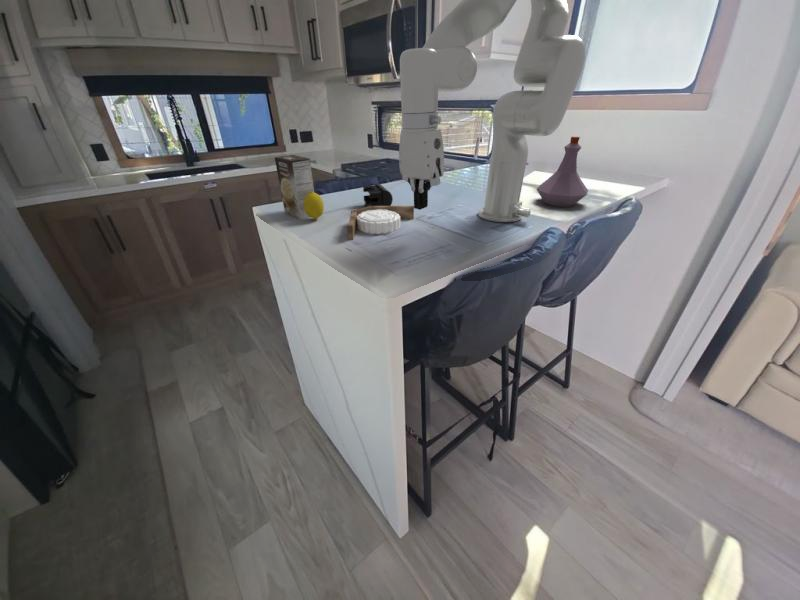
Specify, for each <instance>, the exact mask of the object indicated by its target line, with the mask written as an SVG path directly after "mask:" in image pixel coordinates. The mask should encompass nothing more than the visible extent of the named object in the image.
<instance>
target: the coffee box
mask: <svg viewBox="0 0 800 600" xmlns="http://www.w3.org/2000/svg"><path fill="white" fill-rule="evenodd" d="M274 162H275V166H276V172H277V179H278V183H279V188H280V194H281V198H282V203H283V204H282V205H283V210H284V213H285V214H287V215H290V216H292V217H294V218H297V219H299V220H301V219H305V218H309V217H310V216H308V215H307V214H306V212H305V209H304V198H305V196H306V195H307V194H309V193H310V192H314V193H315V187H314V180H313V179H314V178H313V172H312V166H311V159H310V157H309V158H308V157H305V156H300V155H296V154H289V155H282V156H281V155H280V156H276V157H274ZM310 218H311V217H310Z"/></svg>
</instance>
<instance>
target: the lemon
mask: <svg viewBox="0 0 800 600" xmlns="http://www.w3.org/2000/svg"><path fill="white" fill-rule="evenodd" d="M304 209H305V212H306V214H307V215H308V216H310V218H311V219H314V220H318V219H319V218H320V217H321V216H322V215H323V213H324V212H325V205H324V200H323V199H322V197H321V196H320V195H319V194H318V193H316V192H315V191H314V192H310V193H309V194H307V195H306V196H305V198H304Z"/></svg>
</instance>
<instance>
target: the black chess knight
mask: <svg viewBox="0 0 800 600" xmlns="http://www.w3.org/2000/svg"><path fill="white" fill-rule="evenodd" d="M362 189H363V192H364V193H368V194H369V195H363V201H364V206H365V207H368V206H392V204H393V200H394V199H393V194H392V193H391V192H390V191H389V190H388V189H387V188H385V187H384V186H383V185H382V184H380V183H379V182H375V183H374V185H373V184H372V185H364V186H362Z"/></svg>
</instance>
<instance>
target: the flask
mask: <svg viewBox="0 0 800 600" xmlns="http://www.w3.org/2000/svg"><path fill="white" fill-rule="evenodd" d="M580 138H581V137H580V136H570V142H569V143H568V144H566V145H565V146H564V152H565V153H564V155H563V159H562V160H561V162H560V164H559V165H558V169H557V170H556V171H555V172H554V173H553V174H552V175H551V176H549V177H548V178H547V179H546V180H545V181H543V182H542V183H541V184H539V186H538V187H536V191H537V193H538V194H539V196H540V198H541V199H542V201H543V202H544V203H545V204H547V205H549V206H551V207H552V206H553V207H554V206H555V207H561V208H563V207H564V208H566V207H567V208H568V207H573V206H574V205H576V204H577V203H578V202H580V201H581V200H582V199H584V198H586V196H587V195H588V192H589V189H588V188H587V187H586V185H585V184H584V182H583V180H582V178H581V176H580V175H579V173H578V171H577V168H578V167H577V165H578V164H577V159H578V155H579V152H580V150H581V149H582V146H581V145H580V144H579V141H580Z"/></svg>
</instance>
